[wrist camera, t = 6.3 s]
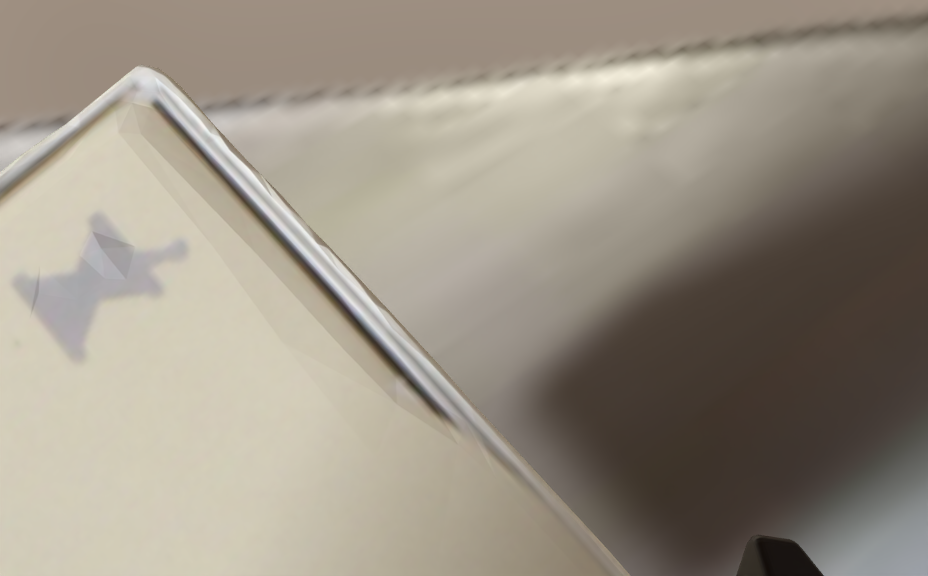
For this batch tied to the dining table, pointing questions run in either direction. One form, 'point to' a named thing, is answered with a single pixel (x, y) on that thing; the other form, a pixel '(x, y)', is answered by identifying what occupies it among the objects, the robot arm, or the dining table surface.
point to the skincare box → (228, 381)
